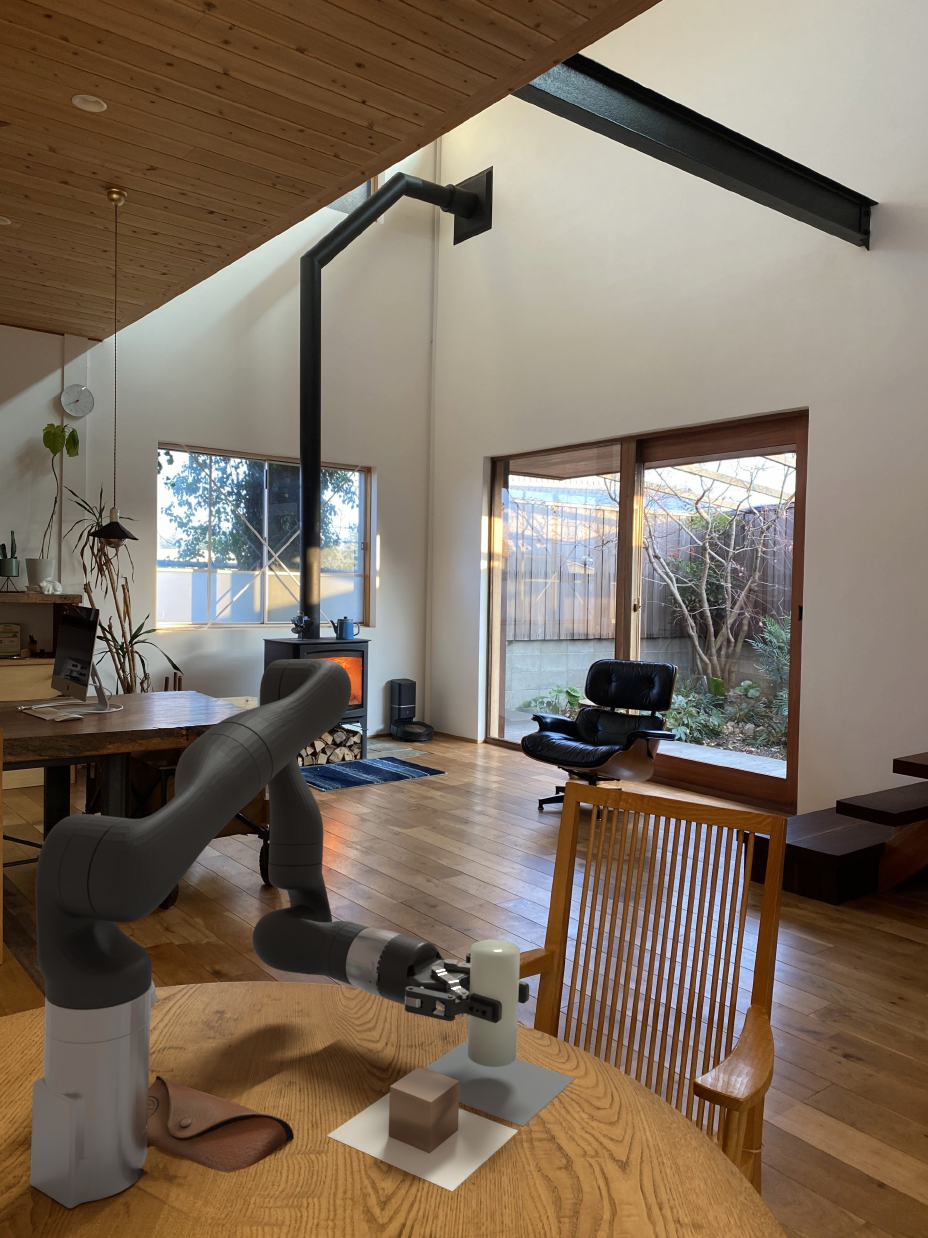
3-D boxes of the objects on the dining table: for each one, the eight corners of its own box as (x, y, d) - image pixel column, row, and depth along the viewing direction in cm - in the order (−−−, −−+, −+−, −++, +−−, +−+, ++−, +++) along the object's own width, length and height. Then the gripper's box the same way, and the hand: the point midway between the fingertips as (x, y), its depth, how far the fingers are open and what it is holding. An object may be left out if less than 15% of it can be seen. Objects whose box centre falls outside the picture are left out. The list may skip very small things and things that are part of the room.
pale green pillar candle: (500, 1072, 100) (504, 962, 100) (458, 1057, 103) (461, 950, 103) (525, 1052, 105) (528, 947, 105) (483, 1038, 108) (487, 936, 108)
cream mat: (451, 1202, 84) (452, 1191, 84) (326, 1145, 92) (326, 1135, 92) (517, 1141, 94) (518, 1131, 94) (399, 1094, 102) (399, 1085, 102)
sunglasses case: (95, 1139, 92) (123, 1067, 95) (139, 1144, 97) (165, 1076, 100) (239, 1195, 84) (265, 1114, 87) (279, 1197, 89) (302, 1121, 92)
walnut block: (429, 1154, 89) (431, 1102, 89) (388, 1136, 92) (389, 1086, 92) (458, 1130, 93) (459, 1081, 93) (417, 1114, 96) (419, 1066, 96)
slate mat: (522, 1136, 95) (523, 1126, 95) (405, 1090, 103) (405, 1082, 103) (574, 1087, 105) (575, 1078, 105) (464, 1049, 113) (464, 1041, 113)
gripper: (426, 977, 118) (543, 1014, 109) (353, 1018, 106) (478, 1063, 96) (428, 919, 118) (546, 950, 108) (355, 953, 106) (481, 991, 96)
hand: (513, 1003), depth 102 cm, fingers closed on pale green pillar candle, 5 cm apart
